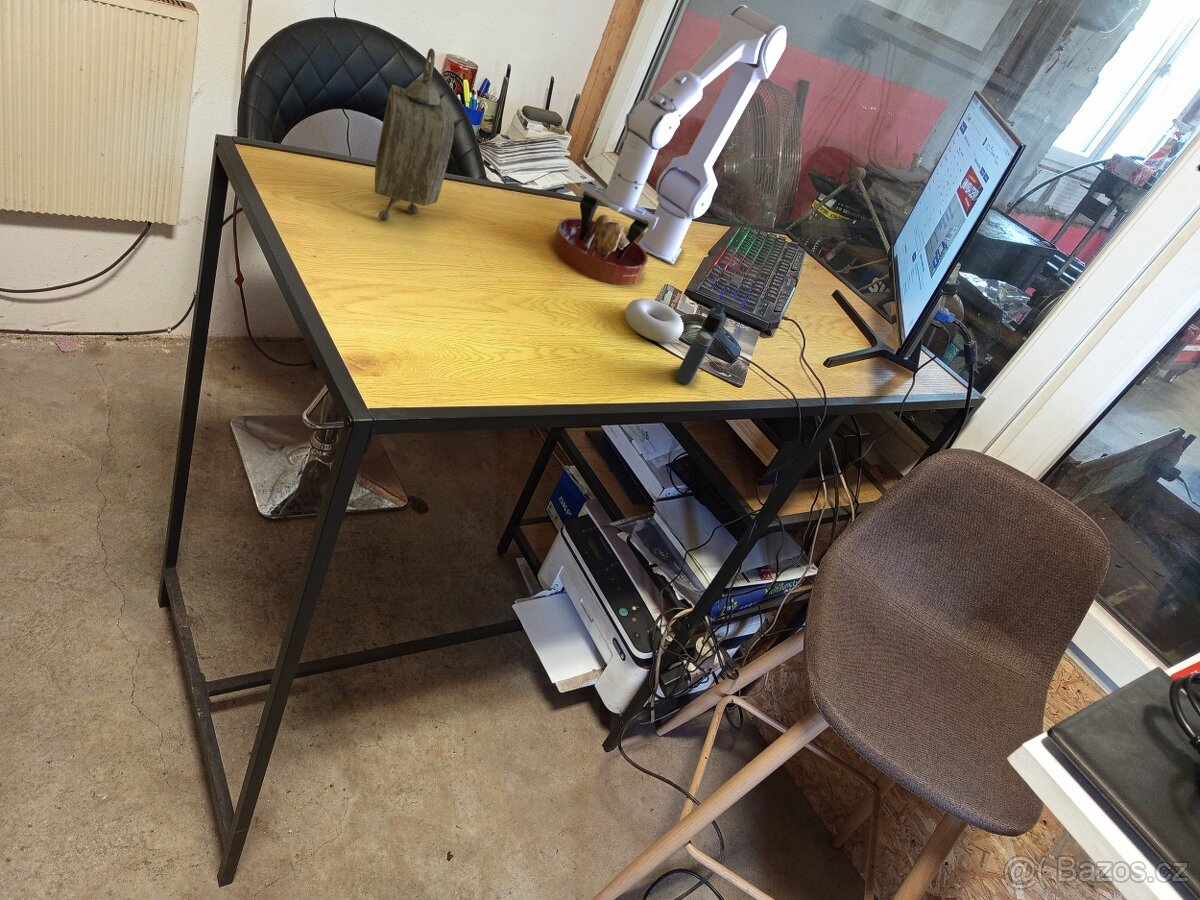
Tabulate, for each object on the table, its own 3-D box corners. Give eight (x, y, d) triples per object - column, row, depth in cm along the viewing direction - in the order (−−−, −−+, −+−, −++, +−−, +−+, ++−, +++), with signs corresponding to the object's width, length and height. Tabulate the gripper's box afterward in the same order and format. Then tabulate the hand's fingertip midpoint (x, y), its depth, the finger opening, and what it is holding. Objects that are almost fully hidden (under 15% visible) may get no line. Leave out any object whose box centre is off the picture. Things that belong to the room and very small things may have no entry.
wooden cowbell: (370, 185, 129) (401, 27, 115) (425, 199, 132) (461, 47, 118) (371, 223, 118) (405, 55, 104) (429, 238, 122) (470, 77, 108)
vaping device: (695, 373, 120) (730, 308, 113) (688, 387, 115) (724, 320, 108) (680, 366, 120) (714, 300, 113) (672, 379, 115) (707, 312, 109)
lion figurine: (617, 279, 135) (636, 233, 130) (589, 272, 133) (607, 225, 128) (600, 241, 146) (617, 196, 141) (573, 234, 144) (590, 189, 139)
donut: (616, 329, 122) (675, 354, 122) (624, 311, 120) (683, 336, 120) (627, 305, 130) (682, 328, 130) (634, 287, 128) (690, 311, 128)
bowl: (567, 225, 147) (574, 208, 145) (648, 264, 146) (655, 248, 144) (539, 252, 133) (545, 234, 131) (628, 295, 132) (636, 278, 130)
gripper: (584, 162, 127) (557, 236, 135) (663, 200, 127) (632, 272, 135) (595, 154, 133) (569, 225, 141) (671, 190, 133) (641, 260, 141)
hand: (601, 248), depth 138 cm, fingers open, 7 cm apart
